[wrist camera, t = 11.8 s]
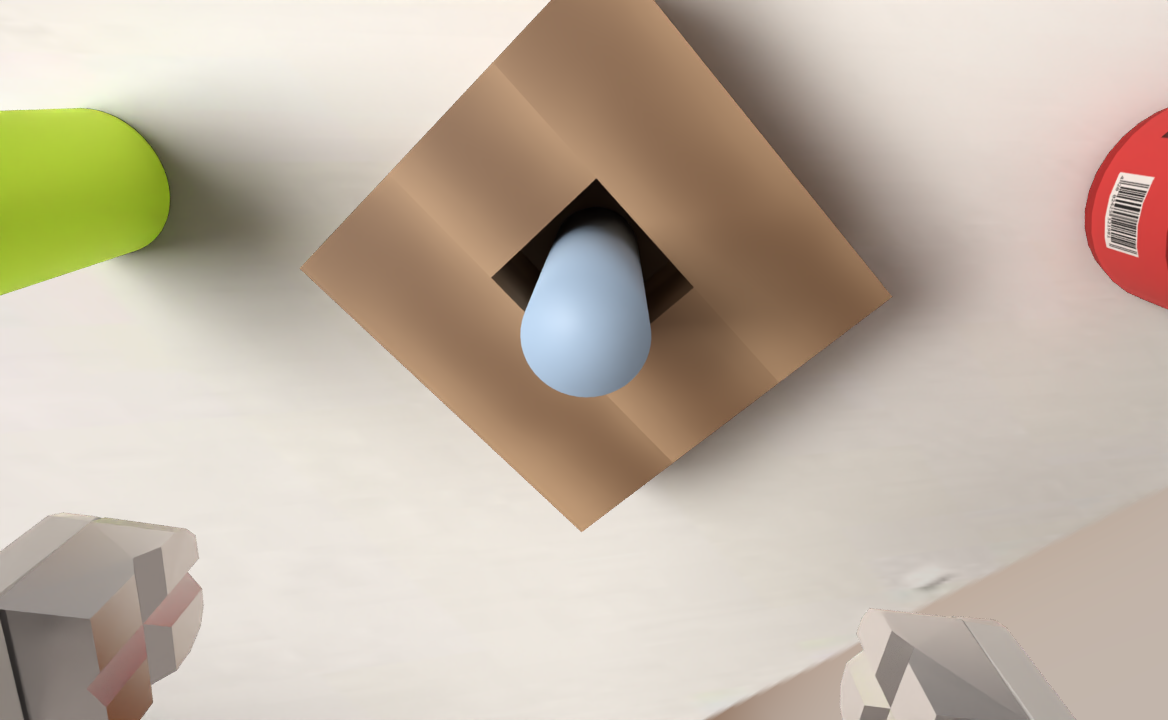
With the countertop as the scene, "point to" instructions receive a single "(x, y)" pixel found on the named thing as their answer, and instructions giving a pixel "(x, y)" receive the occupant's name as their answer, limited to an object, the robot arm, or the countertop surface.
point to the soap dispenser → (73, 193)
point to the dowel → (589, 308)
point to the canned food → (1133, 211)
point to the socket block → (664, 236)
